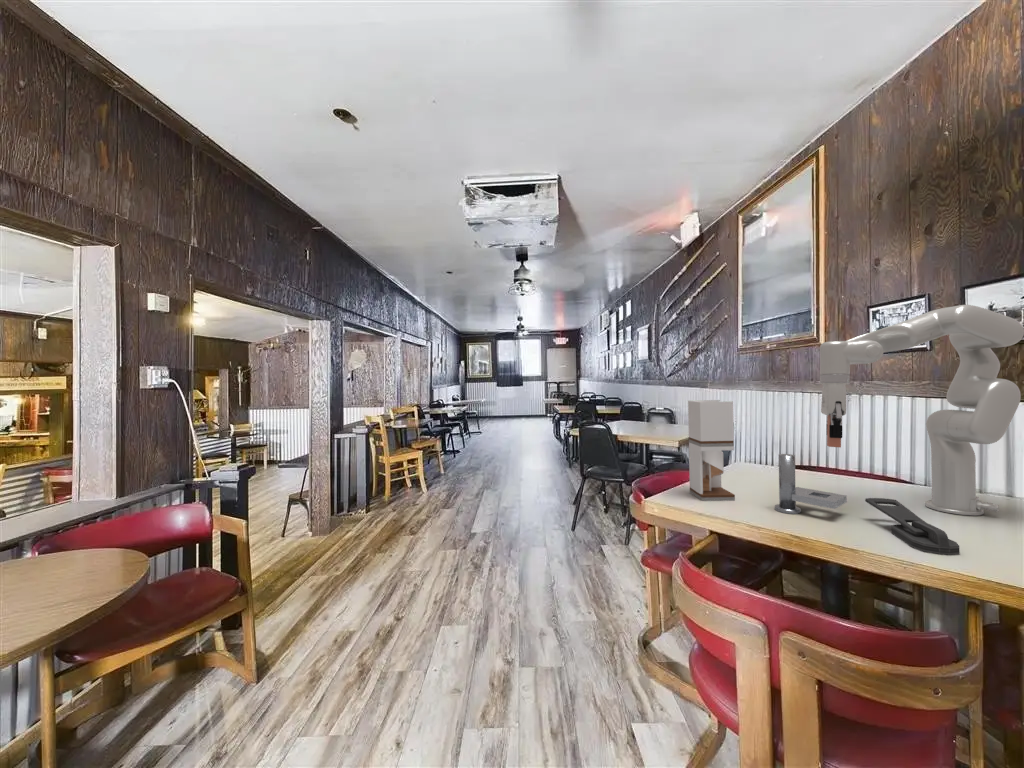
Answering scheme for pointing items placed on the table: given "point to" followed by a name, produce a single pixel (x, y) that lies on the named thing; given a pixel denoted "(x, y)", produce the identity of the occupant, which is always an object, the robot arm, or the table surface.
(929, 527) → the zipper pull
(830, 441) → the reddish brown rectangular block
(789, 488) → the rosette post
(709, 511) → the table surface
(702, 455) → the white tower model
